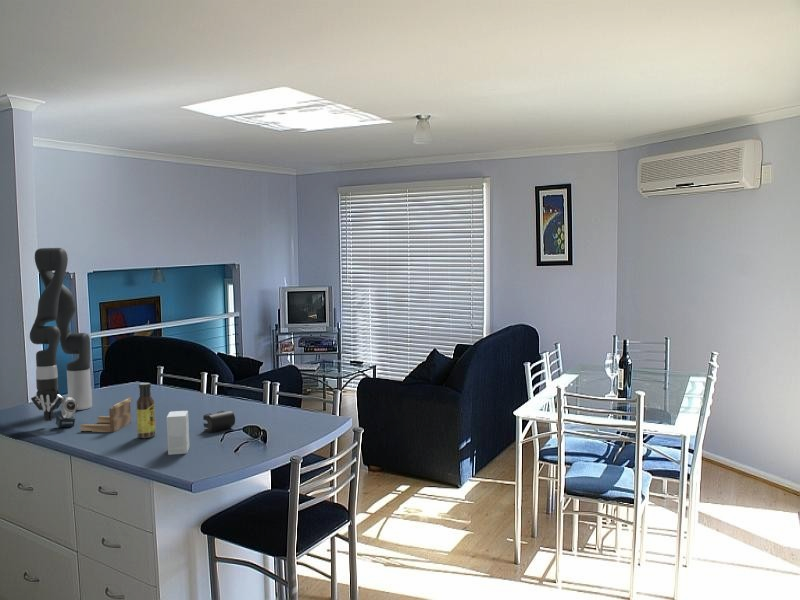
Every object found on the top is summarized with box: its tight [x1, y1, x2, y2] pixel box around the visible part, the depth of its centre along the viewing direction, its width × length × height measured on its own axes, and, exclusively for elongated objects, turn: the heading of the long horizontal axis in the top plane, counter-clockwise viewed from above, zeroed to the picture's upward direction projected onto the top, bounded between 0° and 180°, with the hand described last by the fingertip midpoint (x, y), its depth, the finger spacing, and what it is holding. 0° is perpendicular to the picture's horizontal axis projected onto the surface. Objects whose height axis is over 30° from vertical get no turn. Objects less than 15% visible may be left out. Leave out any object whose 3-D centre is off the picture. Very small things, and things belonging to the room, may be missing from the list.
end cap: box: [202, 410, 236, 433], centre depth 256 cm, size 10×7×7 cm
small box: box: [166, 410, 190, 456], centre depth 230 cm, size 8×6×13 cm
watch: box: [55, 396, 78, 428], centre depth 263 cm, size 6×8×11 cm
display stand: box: [80, 397, 133, 433], centre depth 262 cm, size 14×14×10 cm
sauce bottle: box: [136, 382, 156, 439], centre depth 247 cm, size 6×6×20 cm
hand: (48, 420), depth 264 cm, fingers closed
